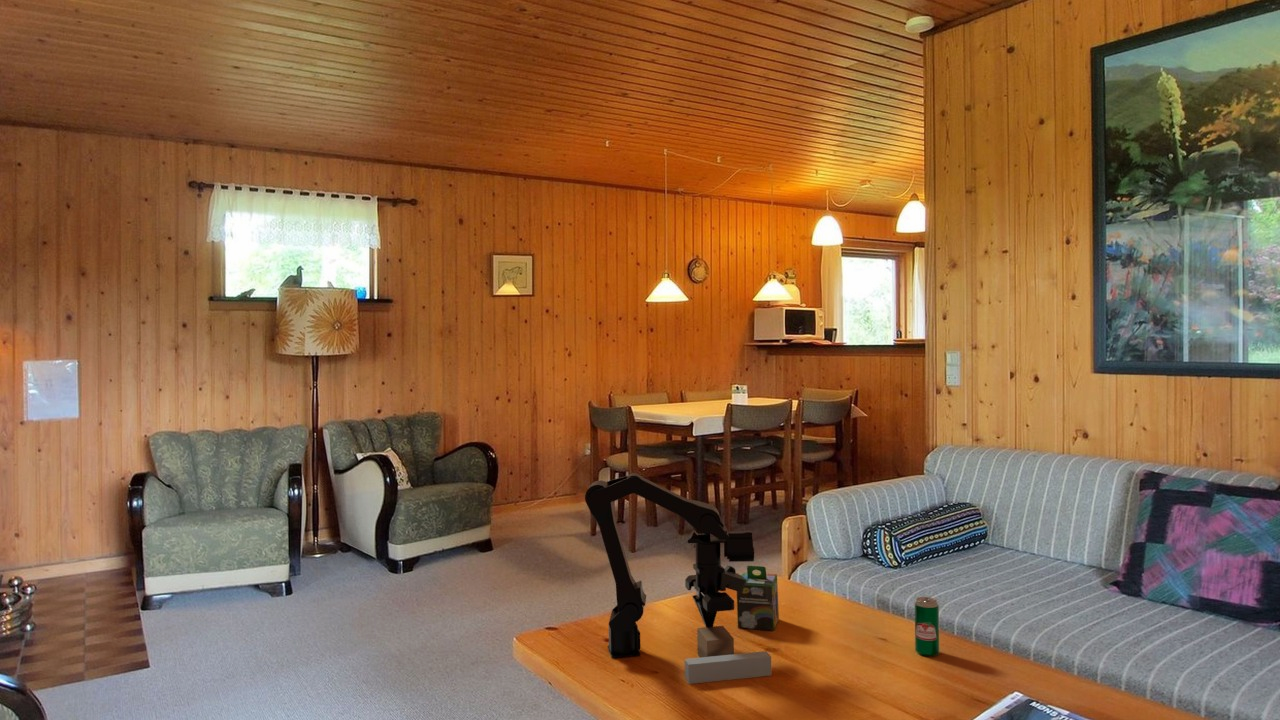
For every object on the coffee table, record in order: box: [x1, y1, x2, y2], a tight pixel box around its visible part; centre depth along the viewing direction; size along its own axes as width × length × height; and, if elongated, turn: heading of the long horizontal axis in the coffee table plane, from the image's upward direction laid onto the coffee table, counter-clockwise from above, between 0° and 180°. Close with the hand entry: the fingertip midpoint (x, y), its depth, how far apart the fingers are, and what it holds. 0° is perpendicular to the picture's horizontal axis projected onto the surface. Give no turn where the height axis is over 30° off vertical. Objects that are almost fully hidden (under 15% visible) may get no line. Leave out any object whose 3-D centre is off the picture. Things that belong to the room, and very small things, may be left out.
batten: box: [684, 650, 772, 685], centre depth 164 cm, size 18×3×4 cm, turn 101°
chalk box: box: [736, 565, 780, 632], centre depth 195 cm, size 9×9×15 cm
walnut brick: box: [696, 625, 735, 658], centre depth 173 cm, size 6×8×6 cm
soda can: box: [914, 596, 940, 657], centre depth 174 cm, size 5×5×12 cm
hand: (709, 629), depth 177 cm, fingers closed
